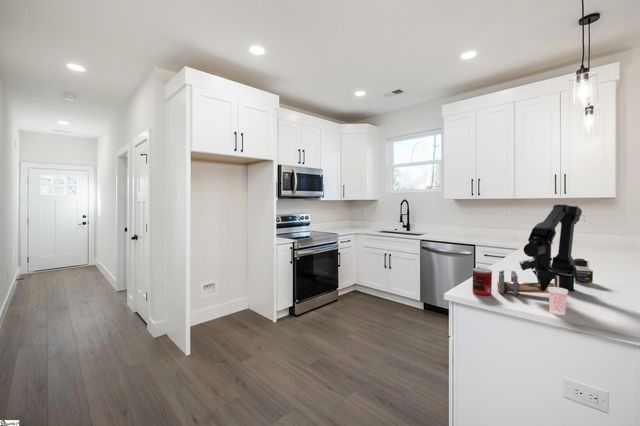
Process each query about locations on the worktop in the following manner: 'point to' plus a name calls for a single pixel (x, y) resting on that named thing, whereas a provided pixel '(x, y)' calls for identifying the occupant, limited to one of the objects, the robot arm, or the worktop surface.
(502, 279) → the collar
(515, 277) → the collar
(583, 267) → the medicine bottle
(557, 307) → the beverage cup
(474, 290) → the canned food
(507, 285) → the brown wooden rod
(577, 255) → the worktop surface
